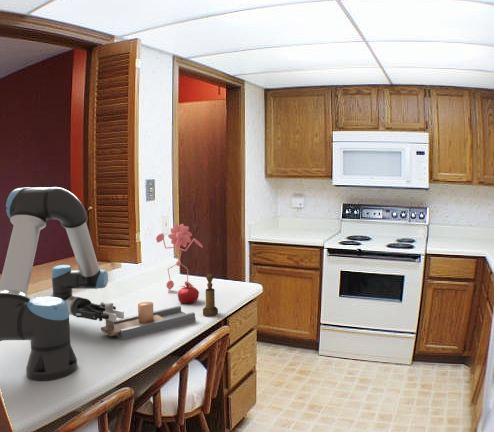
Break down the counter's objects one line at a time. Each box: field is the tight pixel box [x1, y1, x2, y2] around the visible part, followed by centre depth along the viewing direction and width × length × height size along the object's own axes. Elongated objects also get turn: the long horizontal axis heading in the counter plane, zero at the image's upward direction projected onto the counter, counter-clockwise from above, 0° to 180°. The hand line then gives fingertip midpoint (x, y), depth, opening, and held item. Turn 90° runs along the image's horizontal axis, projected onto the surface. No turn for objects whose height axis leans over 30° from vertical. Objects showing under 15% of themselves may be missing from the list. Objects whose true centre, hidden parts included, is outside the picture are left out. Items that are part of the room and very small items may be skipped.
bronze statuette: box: [202, 273, 219, 318], centre depth 203 cm, size 7×6×18 cm
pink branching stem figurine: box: [155, 223, 204, 294], centre depth 241 cm, size 15×26×35 cm, turn 76°
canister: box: [137, 301, 154, 323], centre depth 188 cm, size 6×6×7 cm
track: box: [114, 305, 196, 341], centre depth 190 cm, size 32×14×4 cm, turn 128°
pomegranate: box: [177, 283, 200, 304], centre depth 222 cm, size 10×10×9 cm
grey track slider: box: [100, 302, 164, 337], centre depth 185 cm, size 24×9×11 cm, turn 128°
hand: (119, 316), depth 176 cm, fingers closed on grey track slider, 3 cm apart
